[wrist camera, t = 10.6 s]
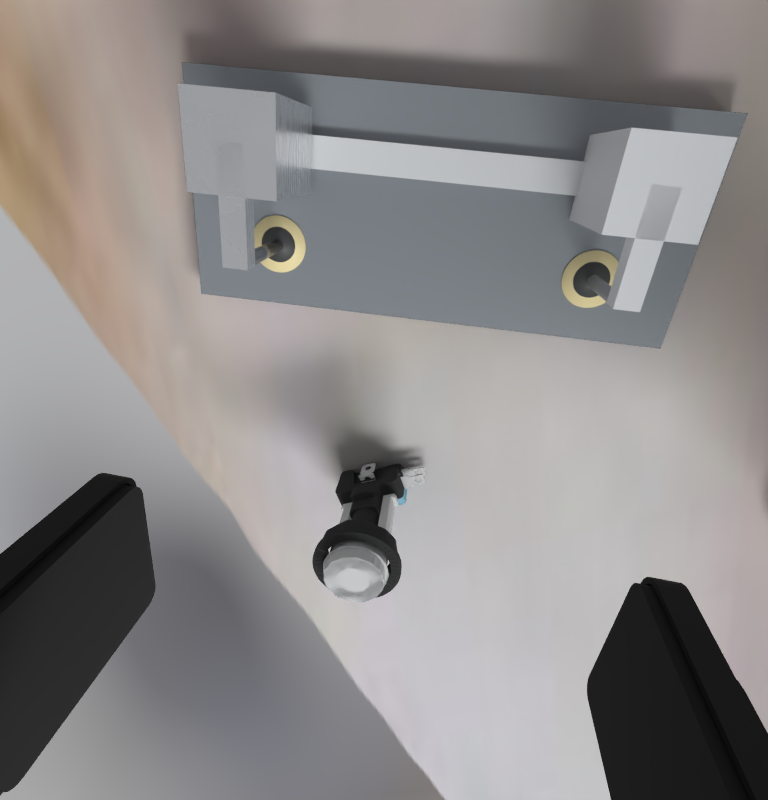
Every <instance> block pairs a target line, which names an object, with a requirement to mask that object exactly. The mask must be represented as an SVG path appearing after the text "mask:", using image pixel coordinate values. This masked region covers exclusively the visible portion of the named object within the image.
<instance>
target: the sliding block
mask: <svg viewBox="0 0 768 800" xmlns="http://www.w3.org/2000/svg"><path fill="white" fill-rule="evenodd" d="M177 84H178V95H179V106H180V118H181V129H182V140H183V152H184V163H185V174H186V185H187V192H192V193H201V194H210V195H218V200H219V217H220V233H221V249H222V265H223V268H231V269H239V270H250V269H251V268H253V267H255V265H256V264H258V263H260V262H262V261H263V260H265V259H267V258H269V257H271V256H273V255H274V254H276V253H278V252H280V251H281V250H282V249H283V244H282V242H281V241H280V240H278V239H275V240H273V241H270V242H268V243H266V244H264V245H262V246H260V247H257V248H255V238H254V206H253V199H257V200H266V201H276V202H277V201H281V200H285V199H289V198H294V197H298V196H302V195H306V194H310V193H311V160H312V107H310V106H307V105H305V104H302V103H300V102H297V101H295V100H293V99H290V98H288V97H285V96H283V95H280V94H278V93H275V92H265V91H254V90H243V89H233V88H222V87H211V86H200V85H190V84H179V83H177Z"/></svg>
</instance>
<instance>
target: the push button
mask: <svg viewBox="0 0 768 800" xmlns="http://www.w3.org/2000/svg"><path fill="white" fill-rule="evenodd" d="M367 467H371V468H370V469H369V470H365V469H366V468H367ZM375 467H376V464H375V463H371V464H367V465H364V466H362V469H361V472H360V473H356V474H354V472H353V471H352V470H350V471H346V472H343V473H342V474H341V476H340V480H339V483H338V486H337V489H336V494H337V496H338V498H339V500H340V503H341V505H342V508H341V510H342V517H341V520H340V524H338V525H336V526H334V527H333V528H331V529H329V530H327V531H326V533H325V535H324V537H323V539H322V540H321V541H320V542H319V543H318V545H317V547H316V549H315V552H314V555H313V568H314V571H315V573H316V575H317V577H318V579H319V580H320V581H321V582H322V583H323V584H324V585H325V586H326V587H327V588H328V589H329V590H330V591H331V592H332V593H333V594H334V595H335V596H337V597H339V598H341V599H344V600H347V601H350V602H365V601H368V600H371V599H374V598H377V597H380V596H383V595H385V594H387V593H388V592H390V591H391V590H392V589H393V588H394V587H395V586H396V585H397V583H398V581H399V579H400V575H401V559H400V556H399V554H398V552H397V546H396V540H395V538H394V537H393V536H392V535H391V530H392V523H393V516H394V509H395V507H397V506H398V505H402V504H404V503H405V502H406V494H407V489H409V488H413V487H412V486H415V485H420V484H424V483H426V480H425V477H424V476H426V471H425V469H424V467H419V468H415V469H409V468H407V469H402V467H401V465H400V464H396V465H391V466H387V467H383V468H378V469H375ZM416 471H421V474H420V475H418V474H416ZM416 478H420V479H421V481H420V482H417V481H416V480H415V479H416ZM331 546H332V547H331ZM330 547H331V550H330V553H329V551H328V549H329V548H330ZM388 560H389V562H390V563H389V565H388V566H387V561H388Z"/></svg>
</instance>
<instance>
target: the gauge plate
mask: <svg viewBox="0 0 768 800" xmlns="http://www.w3.org/2000/svg"><path fill="white" fill-rule="evenodd" d="M182 68H183V80H184V84H190V85H200V86H211V87H222V88H233V89H243V90H254V91H265V92H275V93H278V94H280V95H283V96H285V97H288V98H290V99H293V100H295V101H297V102H300V103H302V104H305V105H307V106H310V107H312V160H311V193H310V194H306V195H302V196H298V197H294V198H289V199H285V200H281V201H277V202H276V201H266V200H257V199H253V206H254V238H255V248H257V247H260V246H262V245H264V244H266V243H268V242H270V241H273V240H275V239H278V240H280V241H281V242H282V244H283V249H282V250H281V251H280V252H278V253H276V254H274V255H273V256H271V257H269V258H267V259H265V260H263V261H262V262H260V263H258V264H256V265H255V267H253V268H251V269H250V270H239V269H231V268H223V265H222V249H221V233H220V217H219V200H218V195H210V194H201V193H193V200H194V212H195V224H196V236H197V248H198V260H199V272H200V284H201V294H209V295H217V296H226V297H234V298H242V299H251V300H259V301H267V302H276V303H284V304H292V305H301V306H309V307H317V308H326V309H334V310H342V311H351V312H359V313H367V314H376V315H384V316H392V317H401V318H409V319H417V320H426V321H434V322H442V323H451V324H459V325H467V326H476V327H484V328H493V329H501V330H509V331H518V332H526V333H534V334H543V335H551V336H559V337H568V338H576V339H584V340H593V341H601V342H609V343H618V344H626V345H634V346H643V347H651V348H659V349H660V348H661V345H662V343H663V340H664V337H665V335H666V332H667V329H668V326H669V324H670V321H671V318H672V316H673V313H674V310H675V308H676V305H677V302H678V300H679V297H680V294H681V291H682V289H683V286H684V283H685V281H686V278H687V275H688V273H689V270H690V267H691V265H692V262H693V259H694V256H695V254H696V251H697V248H698V246H699V243H700V240H701V238H702V235H703V232H704V229H705V227H706V224H707V221H708V219H709V216H710V213H711V211H712V208H713V205H714V203H715V200H716V197H717V194H718V192H719V189H720V186H721V184H722V181H723V178H724V176H725V173H726V170H727V168H728V165H729V162H730V159H731V157H732V154H733V151H734V149H735V146H736V143H737V141H738V138H739V135H740V133H741V130H742V127H743V124H744V122H745V119H746V116H747V114H748V113H736V112H725V111H714V110H703V109H692V108H681V107H670V106H659V105H648V104H637V103H626V102H615V101H604V100H593V99H582V98H571V97H560V96H549V95H538V94H527V93H516V92H505V91H494V90H483V89H472V88H461V87H450V86H439V85H428V84H417V83H406V82H395V81H384V80H373V79H362V78H351V77H340V76H329V75H318V74H307V73H296V72H285V71H274V70H262V69H251V68H240V67H229V66H218V65H207V64H196V63H185V62H182Z"/></svg>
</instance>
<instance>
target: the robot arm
mask: <svg viewBox="0 0 768 800" xmlns="http://www.w3.org/2000/svg"><path fill="white" fill-rule="evenodd" d="M154 592H155V579H154V571H153V564H152V557H151V550H150V542H149V536H148V529H147V521H146V514H145V507H144V499H143V493H142V490H141V489H140V488H139V487H136V483H135V481H134V480H133V479H131V478H128V477H122V476H117V475H112V474H107V473H101V474H98V475H96V476H95V477H93V478H92V479H91V480H90V481H89V482H87V483H86V484H85V485H84V486H82V487H81V488H80V489H79V490H78V491H76V492H75V493H74V494H73V495H72V496H70V497H69V498H68V499H67V500H66V501H64V502H63V503H62V504H61V505H59V506H58V507H57V508H56V509H55V510H53V511H52V512H51V513H50V514H48V516H46V517H45V518H44V519H43V520H41V521H40V522H39V523H38V524H36V525H35V526H34V527H33V528H31V529H30V530H29V531H28V532H27V533H25V534H24V535H23V536H22V537H21V538H19V539H18V540H17V541H16V542H15V543H13V544H12V545H11V546H10V547H9V548H7V549H6V550H5V551H4V552H2V553H1V554H0V795H1V794H2V793H3V792H8V791H10V790H11V789H13V788H14V787H15V786H16V785H17V784H18V783H19V782H20V781H21V779H22V778H23V777H24V776H25V774H26V773H27V771H28V770H29V769H30V767H31V766H32V764H33V763H34V762H35V760H36V759H37V757H38V756H39V755H40V753H41V752H42V751H43V749H44V748H45V747H46V745H47V744H48V743H49V741H50V740H51V738H52V737H53V736H54V734H55V733H56V731H57V730H58V729H59V728H60V726H61V725H62V723H63V722H64V721H65V719H66V718H67V717H68V715H69V714H70V712H71V711H72V710H73V708H74V707H75V706H76V704H77V703H78V702H79V700H80V699H81V697H82V696H83V695H84V693H85V692H86V691H87V689H88V688H89V686H90V685H91V684H92V682H93V681H94V680H95V678H96V677H97V675H98V674H99V673H100V671H101V670H102V669H103V667H104V666H105V665H106V663H107V662H108V660H109V659H110V658H111V656H112V655H113V653H114V652H115V651H116V649H117V648H118V647H119V645H120V644H121V643H122V641H123V640H124V639H125V637H126V636H127V634H128V633H129V632H130V630H131V629H132V628H133V626H134V625H135V623H136V622H137V621H138V619H139V618H140V617H141V615H142V614H143V613H144V611H145V610H146V608H147V607H148V606H149V604H150V602H151V600H152V598H153V596H154ZM587 696H588V701H589V706H590V710H591V714H592V719H593V723H594V727H595V731H596V736H597V740H598V744H599V749H600V753H601V757H602V762H603V766H604V770H605V775H606V779H607V783H608V788H609V792H610V796H611V800H768V733H767V731H766V730H765V728H764V726H763V724H762V722H761V720H760V718H759V717H758V715H757V713H756V711H755V709H754V707H753V705H752V703H751V702H750V700H749V698H748V696H747V694H746V692H745V691H744V689H743V688H742V686H741V685H740V683H739V682H738V681H737V680H736V678H735V676H734V674H733V673H732V671H731V669H730V667H729V665H728V663H727V661H726V659H725V658H724V656H723V654H722V652H721V650H720V648H719V646H718V644H717V643H716V641H715V639H714V637H713V635H712V633H711V631H710V629H709V627H708V626H707V624H706V622H705V620H704V618H703V616H702V614H701V612H700V611H699V609H698V607H697V605H696V603H695V601H694V599H693V597H692V595H691V594H690V592H689V590H688V589H687V587H686V586H685V585H683V584H682V583H678V582H673V581H667V580H662V579H657V578H652V577H646V578H645V579H643V581H642V582H641V584H638V583H634V584H633V585H632V586H631V588H630V590H629V592H628V594H627V596H626V598H625V600H624V603H623V605H622V607H621V609H620V611H619V613H618V615H617V618H616V620H615V622H614V624H613V626H612V628H611V630H610V633H609V635H608V637H607V639H606V641H605V643H604V645H603V648H602V650H601V652H600V654H599V656H598V658H597V660H596V663H595V665H594V667H593V669H592V671H591V673H590V675H589V678H588V683H587Z"/></svg>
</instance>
